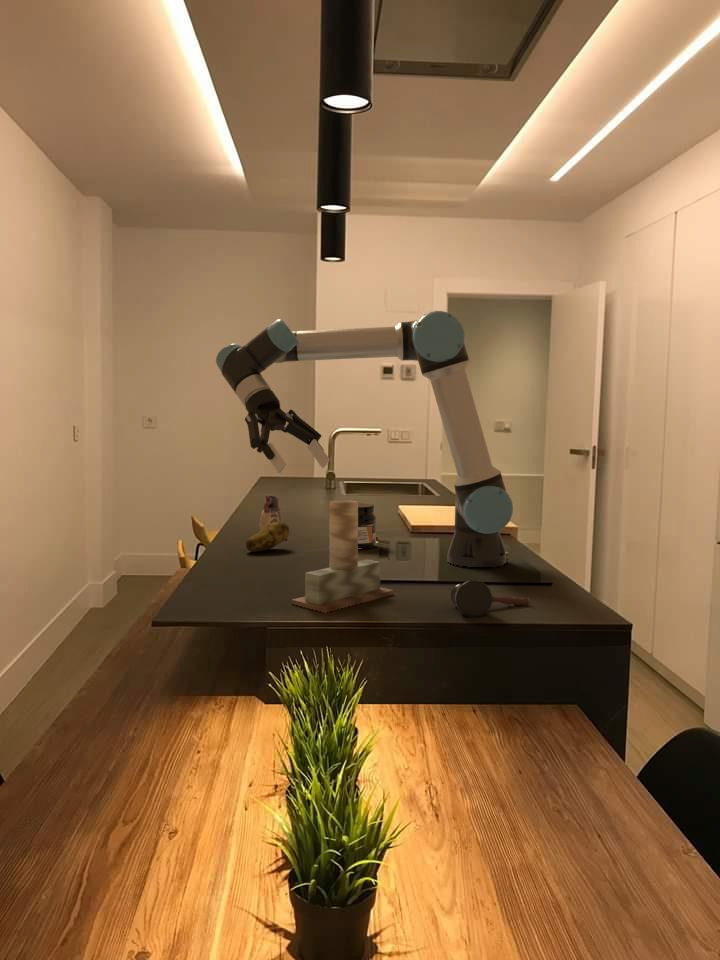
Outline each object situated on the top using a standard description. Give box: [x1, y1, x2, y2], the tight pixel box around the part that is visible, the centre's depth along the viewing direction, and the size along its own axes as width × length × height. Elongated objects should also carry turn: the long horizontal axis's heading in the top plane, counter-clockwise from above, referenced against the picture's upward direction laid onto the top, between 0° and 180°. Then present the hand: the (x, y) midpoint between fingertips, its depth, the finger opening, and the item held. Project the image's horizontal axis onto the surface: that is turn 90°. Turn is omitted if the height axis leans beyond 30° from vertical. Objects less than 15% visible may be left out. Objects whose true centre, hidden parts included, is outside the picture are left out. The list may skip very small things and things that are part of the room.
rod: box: [329, 499, 359, 570], centre depth 178 cm, size 6×6×14 cm
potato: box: [245, 521, 290, 553], centre depth 232 cm, size 8×13×8 cm, turn 112°
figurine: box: [258, 494, 282, 531], centre depth 262 cm, size 7×7×12 cm
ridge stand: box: [291, 559, 394, 614], centre depth 179 cm, size 21×10×7 cm, turn 138°
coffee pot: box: [450, 579, 531, 618], centre depth 171 cm, size 8×18×8 cm
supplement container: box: [358, 502, 377, 549], centre depth 239 cm, size 10×10×12 cm
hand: (304, 466), depth 188 cm, fingers open, 13 cm apart
